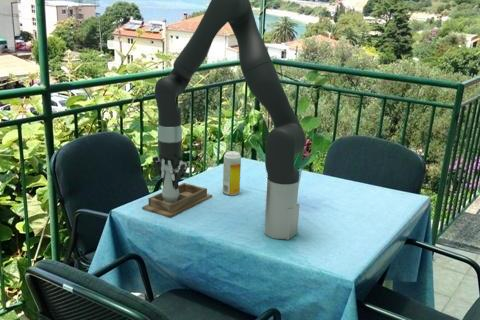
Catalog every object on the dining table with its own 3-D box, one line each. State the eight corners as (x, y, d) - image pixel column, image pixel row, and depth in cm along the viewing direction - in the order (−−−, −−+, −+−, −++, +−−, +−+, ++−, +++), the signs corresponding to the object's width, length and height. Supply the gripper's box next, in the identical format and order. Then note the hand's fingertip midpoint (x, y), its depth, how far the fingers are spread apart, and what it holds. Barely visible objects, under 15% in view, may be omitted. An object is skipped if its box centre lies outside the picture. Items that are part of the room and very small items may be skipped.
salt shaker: (170, 205, 167) (170, 167, 163) (158, 200, 170) (157, 163, 166) (182, 200, 172) (183, 163, 168) (170, 196, 175) (170, 159, 171)
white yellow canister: (242, 192, 187) (244, 153, 183) (233, 197, 182) (235, 156, 178) (228, 188, 190) (230, 150, 186) (219, 193, 185) (220, 153, 181)
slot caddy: (212, 197, 182) (212, 187, 181) (170, 218, 163) (170, 208, 162) (185, 189, 188) (185, 180, 187) (142, 209, 169) (141, 199, 168)
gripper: (194, 139, 164) (194, 190, 169) (160, 132, 171) (161, 181, 176) (179, 144, 158) (179, 197, 163) (145, 137, 165) (146, 187, 170)
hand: (170, 188), depth 170 cm, fingers closed on salt shaker, 3 cm apart
